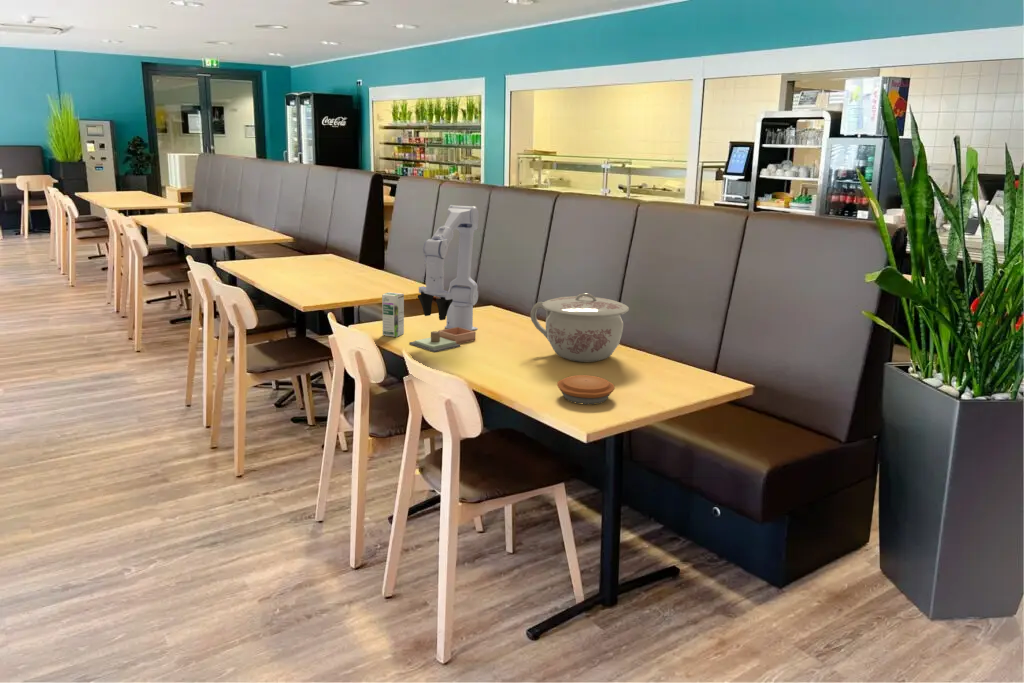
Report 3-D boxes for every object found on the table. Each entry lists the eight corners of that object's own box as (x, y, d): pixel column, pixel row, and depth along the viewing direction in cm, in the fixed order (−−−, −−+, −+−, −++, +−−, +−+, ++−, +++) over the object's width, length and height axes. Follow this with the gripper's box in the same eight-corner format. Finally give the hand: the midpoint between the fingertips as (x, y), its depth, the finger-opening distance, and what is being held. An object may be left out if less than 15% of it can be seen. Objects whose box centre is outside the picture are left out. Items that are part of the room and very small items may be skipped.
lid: (414, 342, 257) (414, 331, 256) (437, 338, 263) (437, 327, 262) (433, 348, 250) (433, 337, 249) (455, 344, 257) (455, 332, 256)
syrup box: (382, 335, 267) (381, 294, 263) (389, 332, 272) (389, 291, 269) (397, 337, 265) (396, 295, 262) (404, 333, 271) (404, 292, 267)
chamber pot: (643, 362, 244) (648, 297, 239) (573, 373, 230) (576, 305, 225) (589, 341, 267) (593, 282, 262) (522, 350, 253) (524, 288, 248)
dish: (438, 339, 264) (438, 330, 264) (457, 335, 271) (458, 326, 270) (455, 344, 258) (455, 335, 258) (475, 340, 265) (475, 331, 264)
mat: (409, 344, 257) (409, 342, 257) (435, 338, 265) (435, 337, 265) (434, 352, 248) (434, 350, 248) (460, 346, 256) (460, 344, 256)
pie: (593, 386, 219) (594, 369, 218) (625, 403, 206) (626, 385, 205) (545, 393, 212) (546, 375, 211) (576, 411, 199) (577, 392, 198)
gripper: (411, 274, 253) (411, 315, 256) (439, 281, 243) (439, 323, 247) (428, 272, 258) (428, 312, 261) (456, 279, 248) (456, 320, 251)
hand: (434, 317), depth 254 cm, fingers open, 7 cm apart
